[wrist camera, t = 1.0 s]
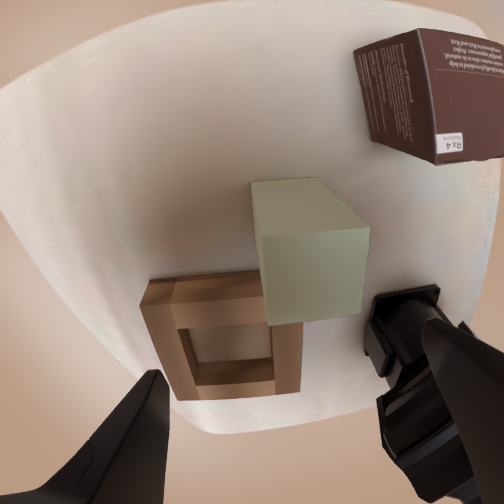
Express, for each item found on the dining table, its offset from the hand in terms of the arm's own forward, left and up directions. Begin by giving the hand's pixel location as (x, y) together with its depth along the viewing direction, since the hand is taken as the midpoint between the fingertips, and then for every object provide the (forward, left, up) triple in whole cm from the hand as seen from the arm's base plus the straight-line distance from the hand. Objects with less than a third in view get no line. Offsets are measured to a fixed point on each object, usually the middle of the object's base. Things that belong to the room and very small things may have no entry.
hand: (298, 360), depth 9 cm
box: (-9, -8, -11) cm, 17 cm away
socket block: (+3, +8, -11) cm, 14 cm away
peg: (-1, -1, -11) cm, 11 cm away
